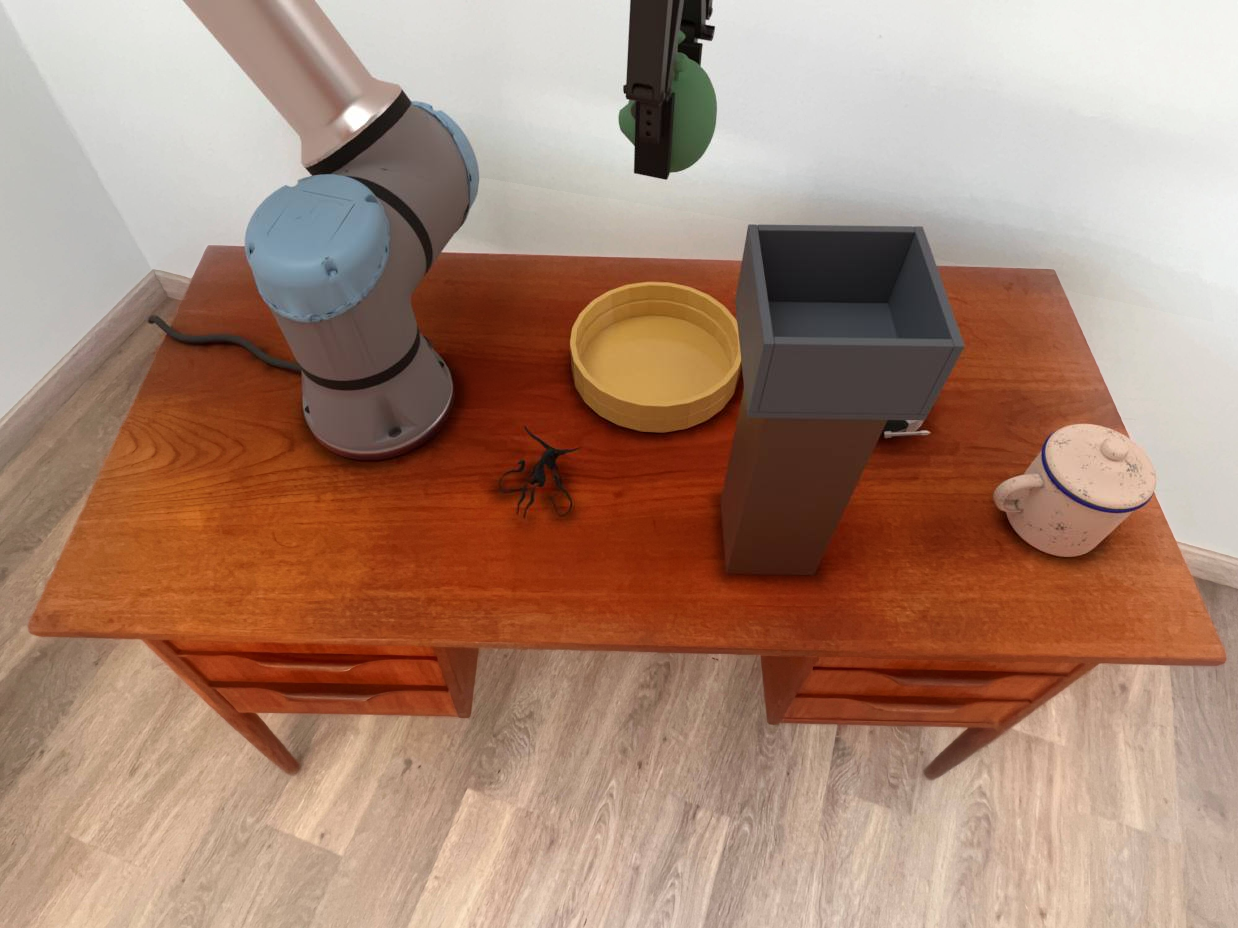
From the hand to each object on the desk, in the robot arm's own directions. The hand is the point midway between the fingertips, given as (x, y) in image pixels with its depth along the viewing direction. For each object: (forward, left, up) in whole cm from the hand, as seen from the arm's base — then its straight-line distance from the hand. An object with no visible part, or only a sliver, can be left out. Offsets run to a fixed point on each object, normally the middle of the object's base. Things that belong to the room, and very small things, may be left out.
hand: (665, 147), depth 60 cm
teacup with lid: (+40, -7, -26) cm, 49 cm away
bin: (+16, -17, -26) cm, 35 cm away
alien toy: (0, 0, -2) cm, 2 cm away
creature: (-6, -19, -26) cm, 33 cm away
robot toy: (+21, +2, -26) cm, 34 cm away
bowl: (0, 0, -26) cm, 26 cm away
